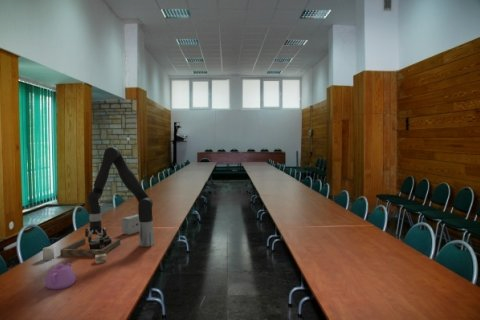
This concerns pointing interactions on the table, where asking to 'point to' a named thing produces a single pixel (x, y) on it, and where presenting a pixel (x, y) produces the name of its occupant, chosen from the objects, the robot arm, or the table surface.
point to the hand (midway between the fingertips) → (96, 242)
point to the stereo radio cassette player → (130, 224)
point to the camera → (100, 242)
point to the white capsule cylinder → (48, 253)
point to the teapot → (60, 277)
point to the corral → (73, 250)
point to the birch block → (100, 258)
